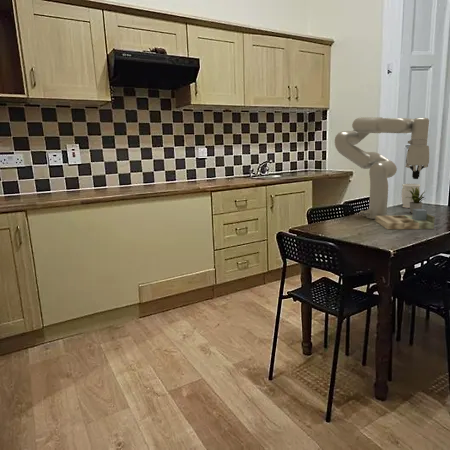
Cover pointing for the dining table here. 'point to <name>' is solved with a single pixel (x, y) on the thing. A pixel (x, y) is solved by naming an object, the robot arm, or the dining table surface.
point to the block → (419, 214)
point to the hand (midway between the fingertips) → (415, 178)
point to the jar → (408, 194)
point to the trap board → (405, 222)
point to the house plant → (415, 200)
